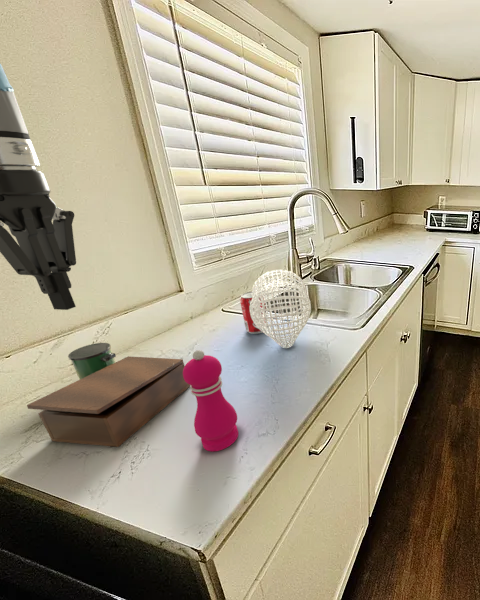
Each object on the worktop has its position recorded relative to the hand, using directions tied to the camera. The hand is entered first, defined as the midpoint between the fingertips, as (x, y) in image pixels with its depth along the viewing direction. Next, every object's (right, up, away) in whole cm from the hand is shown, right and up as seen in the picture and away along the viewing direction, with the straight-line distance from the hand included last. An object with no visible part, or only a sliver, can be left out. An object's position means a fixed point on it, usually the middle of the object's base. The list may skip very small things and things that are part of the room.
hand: (65, 307), depth 59 cm
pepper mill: (+26, -26, +5) cm, 37 cm away
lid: (+1, -16, +10) cm, 19 cm away
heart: (+27, -13, +40) cm, 50 cm away
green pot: (-13, -20, +22) cm, 33 cm away
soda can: (+13, -9, +50) cm, 53 cm away
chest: (+1, -23, +13) cm, 27 cm away
